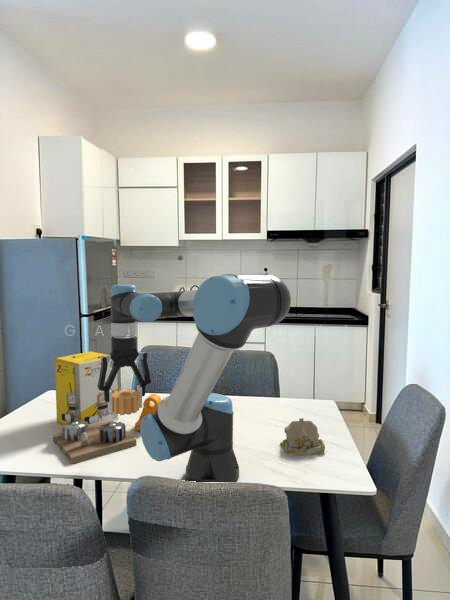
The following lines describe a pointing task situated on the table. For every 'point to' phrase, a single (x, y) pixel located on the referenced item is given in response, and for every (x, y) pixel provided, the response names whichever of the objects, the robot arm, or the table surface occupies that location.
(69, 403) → the packaging box
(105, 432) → the gear
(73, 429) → the gear
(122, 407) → the orange gear
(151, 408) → the bracket
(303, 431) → the ceramic model
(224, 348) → the robot arm
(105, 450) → the gear board
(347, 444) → the table surface
